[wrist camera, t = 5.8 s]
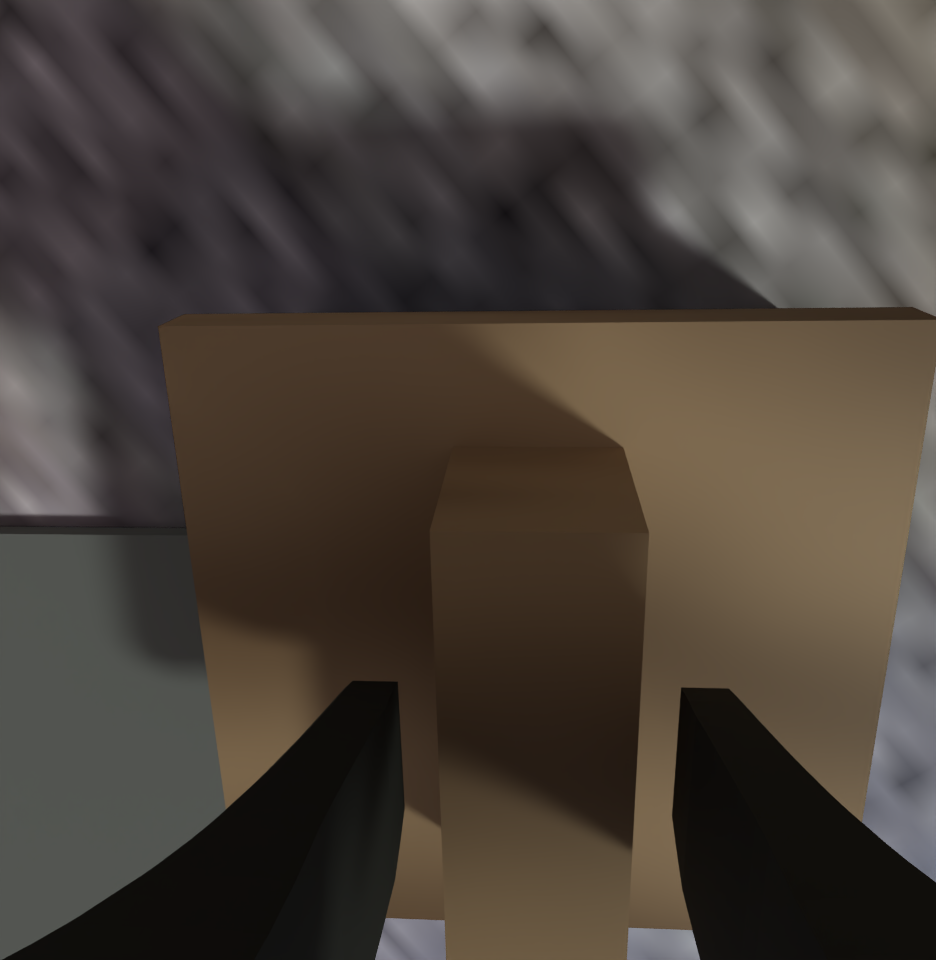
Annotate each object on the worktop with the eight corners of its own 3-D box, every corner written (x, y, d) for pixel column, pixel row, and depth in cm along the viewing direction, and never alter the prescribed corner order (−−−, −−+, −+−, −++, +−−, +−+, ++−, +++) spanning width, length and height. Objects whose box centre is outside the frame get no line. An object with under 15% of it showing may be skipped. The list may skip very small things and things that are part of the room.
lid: (825, 890, 16) (913, 1112, 12) (256, 869, 17) (177, 1074, 13) (912, 307, 13) (1073, 373, 9) (184, 314, 13) (47, 378, 10)
